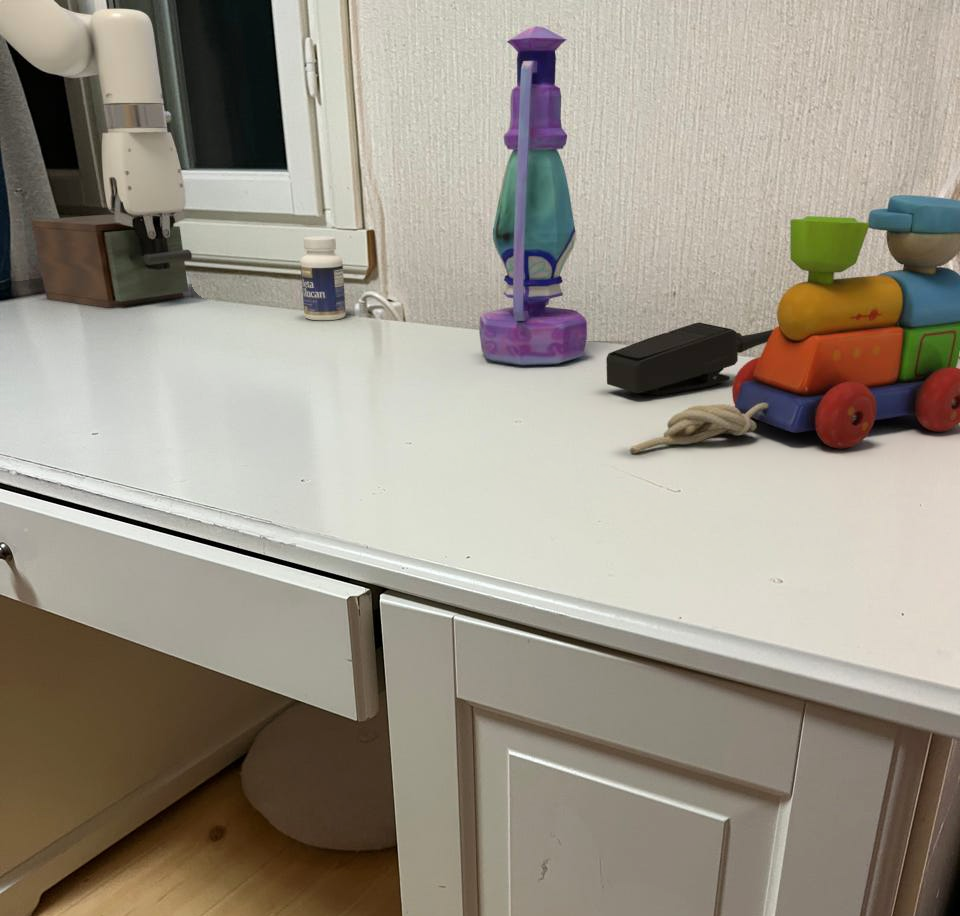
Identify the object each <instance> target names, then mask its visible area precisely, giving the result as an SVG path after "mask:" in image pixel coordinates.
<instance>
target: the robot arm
mask: <svg viewBox="0 0 960 916" xmlns="http://www.w3.org/2000/svg"><path fill="white" fill-rule="evenodd" d="M0 36H1V38H3V39H4V40H5V41H6V42H7V43H8V44H9V45H10V46H11V47H12V48H13V49H14V50H15V51H17V52H18V53H19V55H21V56H22V57H23V59H25V60H26V61H27V62H29V63H30V64H31V65H32V66H34V67H35V68H37V69H38V70H40V71H42V72H45V73H47V74H51V75H57V76H60V77H63V78H69V79H79V78H86V77H91V76H98V78H99V79H98V80H99V84H100V90H101V97H102V103H103V110H104V115H105V121H106V128H107V132H102V135H101V139H102V140H101V166H102V178H103V188H104V189H103V190H104V195H105V196H104V197H105V201H106V206H107V209H108V211H109V212H110V213H113V214H114V215H115V219H114V220H115V223H116V224H119V225H123V226H128V227H130V228H131V229H133V230H134V231H135V232H136V234H137V236H138V237H139V238H141V239H142V246H143V252H144V255H145V254H151V253H160V252H169V251H168V245H167V238H168V237H169V236H170V230H171V228H172V226H173V225H174V226H175V224H177V223H179V222H181V221H184V220H185V219H186V213H185V210H184V209H185V207H186V204H187V203H186V202H187V200H186V199H187V198H186V190H185V184H184V178H183V172H182V167H181V163H180V159H179V155H178V151H177V147H176V144H175V141H174V138H173V135H172V133H171V132H170V131H169V132H168V128H167V127H168V125H167V123H170V122H171V121H172V114H171V112H170V111H169V110H165V106H164V98H163V90H162V84H161V77H160V70H159V63H158V56H157V48H156V41H155V33H154V28H153V22H152V21H151V18H150V17H149V15H148V14H147V13H145V12H143V11H142V10H139V9H138V10H137V9H131V8H104V9H98V10H96V11H94V12H93V14H89V13H81V12H75V11H72V10H69V9H67V8H64V7H63V6H60V5H59V4H58V3H57V1H55V0H0ZM129 214H130V215H129ZM130 216H131V217H130ZM146 265H147V264H146ZM147 268H148V269H157V270H161V269H169V268H170V263H161V264H153V265H147Z"/></svg>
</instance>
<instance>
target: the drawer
mask: <svg viewBox="0 0 960 916" xmlns="http://www.w3.org/2000/svg"><path fill="white" fill-rule="evenodd" d="M101 232H102V237H103V243H104V248H105V254H106V260H107V266H108V272H109V278H110V283H111V289H112V295H113V297H115V299H116V301H120V302H122V301H129V300H136V299H143V298H150V297H156V296H163V295H170V294H177V293H183V294H184V293H189V291H190V290H189V284H188V277H187V270H186V261H191V260H192V258H193V254H192V251H191V250H190V249H184V248H183V240H182V234H181V226H179V225H174V226H172V228H171V230H170V236H169V237H168V238H167V245H168V251H169V252H160V253H151V254H145V255H144V252H143V246H142V239H141V238H139V237H138V236H137V234H136V232H135V231H134V230H133V229H123V230H111V231H101ZM161 263H170V268H169V269H161V270H157V269H148V268H147V265H153V264H161ZM146 264H147V265H146Z"/></svg>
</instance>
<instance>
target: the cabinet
mask: <svg viewBox="0 0 960 916" xmlns="http://www.w3.org/2000/svg"><path fill="white" fill-rule="evenodd" d="M129 216H130V217H131V215H129ZM114 219H115V214H96V215H83V216H70V217H58V218H57V217H55V218H41V219H31V220H30V223H31V227H32V232H33V238H34V242H35V243H34V244H35V248H36V253H37V258H38V263H39V268H40V272H41V273H40V274H41V277H42V283H43V287H44V293H45V296H46V297H45V298H46V300H52V301H53V300H54V301H58V302H59V301H60V302H66V303H73V304H79V305H86V306H92V307H99V308H106V309H112V308H113V309H114V308H118V307H125V306H133V305H141V304H146V303H152V302H153V303H154V302H160V301H165V300H166V301H167V300H173V299H180V298H184V297H185V296H184V293H177V294H170V295H163V296H156V297H150V298H143V299H136V300H129V301H122V302H120V301H116V299H115V297H113V295H112V289H111V283H110V278H109V272H108V266H107V260H106V254H105V248H104V243H103V237H102V232H101V231H111V230H123V229H131V228H130V227H128V226H123V225H119V224H116V223H115V220H114ZM173 226H175V224H174V225H173Z"/></svg>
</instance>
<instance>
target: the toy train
mask: <svg viewBox="0 0 960 916" xmlns="http://www.w3.org/2000/svg"><path fill="white" fill-rule="evenodd" d="M869 229H872V230H877V231H886V244H887V249H888V251H889V253H890V255H891V257H892V258H893V259H894V260H895V261H896V262H897V263H898V264H900V265H903V267H902V269H898V270H889V271H884V272H881V273H879V274H877V275H866V276H856V277H844V278H835V273H843V272H844V271H846V270H848V269H849V268H851V267H852V266H854V265H855V264H856V263H857V262H858V259H859V257H860V256H859V255H860V253H861V250H862V248H863V244H864V242H865V239H866V236H867V234H868V231H869ZM789 234H790V238H789V239H790V245H789V246H790V247H789V249H790V251H789V252H790V255H789V256H790V260H791V262H792V263H794V264H795V265H796V267H798V268H799V269H800V270H801V271H805V272H808V273H807V274H808V276H807V281H802V282H798V283H796V284H794V285H792V286H791V287H789V288H788V289H787V290H786V291H785V292H784V293H783V295H782V297H781V298H780V299H779V303H778V306H777V311H776V319H777V324H778V326H775V327H773V329H774V330H773V329H772V330H773V331H772V333H771V335H770V337H769V339H768V341H767V342H766V343H765V346H764V348H763V350H762V351H761V354H760V356H759V357H758V356H757V357H755V358H753V359H751V360H749V361H747V362H746V363H745V364H743V366H742V367H741V368H740V369H739V370H738V372H737V373H736V374H735V377H734V380H733V383H732V389H731V394H732V402H733V404H734V405H731V404H724V403H723V404H721V403H719V404H710V405H694V406H690V407H688V408H685V409H683V410H682V411H680V412H678V413H676V414H674V415H672V416H671V418H670V419H669V420H668V421H667V424H666V425H667V429H666V430H665V432H664V433H663V437H656V438H652V439H650V440H647V441H644V442H640V443H638V444H635V445H633V446H631V447H630V448H629V453H630V454H638V453H639V452H642V451H645V450H647V449H651V448H653V447H657V446H662V445H680V446H685V445H692V444H693V445H694V444H695V443H699V442H703V441H704V440H705V441H706V440H707V439H710V438H712V437H715V436H717V435H721V434H723V433H724V434H725V433H726V434H731V435H733V436H742V435H745V434H746V433H747V434H748V433H752V432H754V431H755V430H756V429H757V423H756V422H755V420H757V421H760V422H763V423H766V424H768V425H771V426H773V427H776V428H779V429H780V430H784V431H786V432H790V433H803V432H809V431H816V434H817V435H818V438H819V439H820V440H821V441H822V442H823V444H825V445H826V446H828V447H830V448H833V449H839V450H842V449H850V448H851V447H855V446H856V445H858V444H859V443H861V442H862V441H863V440H864V439H865V438H866V437H867V435H868V434H869V432H871V430H872V428H873V426H874V424H875V421H878V420H884V419H891V418H897V417H904V416H910V415H915V416H916V418H917V420H918V422H919V423H920V425H921V426H922V427H923V428H925V429H926V430H929V431H930V432H946V431H949V430H951V429H954V428H955V427H957V426H958V425H959V424H960V368H959V367H957V366H958V363H959V359H960V273H958V272H957V271H955V270H953V269H951V268H948V267H943V266H945V265H946V264H948V263H949V262H950V261H952V260H953V259H954V258H955V257H956V256H957V255H958V254H959V253H960V200H958V199H952V198H945V197H938V196H937V197H936V196H928V195H927V196H926V195H912V194H911V195H910V194H898V195H897V194H896V195H892V196H890V197H889V199H888V203H887V207H886V208H877V209H872V210H870V211H869V213H868V220H867V222H864V221H863V222H862V221H858V220H857V219H856V218H855V217H839V216H814V215H807V216H805V217H804V218H791V219H790V233H789ZM751 418H752V419H755V420H752V419H751Z"/></svg>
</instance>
